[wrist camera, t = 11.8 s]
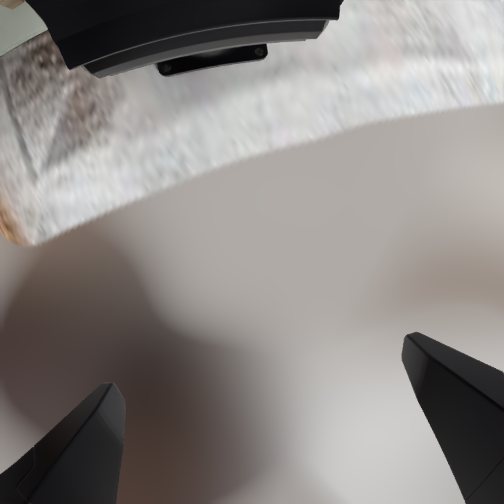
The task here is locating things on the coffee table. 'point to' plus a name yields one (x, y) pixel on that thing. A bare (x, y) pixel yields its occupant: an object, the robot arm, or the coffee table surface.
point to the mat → (18, 26)
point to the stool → (11, 3)
